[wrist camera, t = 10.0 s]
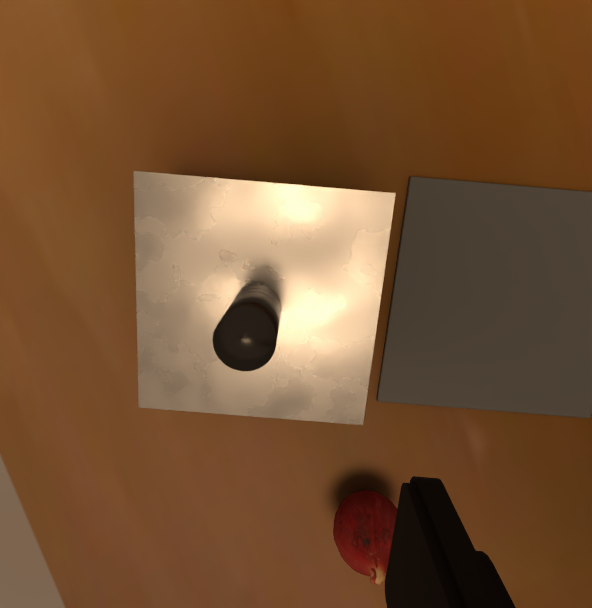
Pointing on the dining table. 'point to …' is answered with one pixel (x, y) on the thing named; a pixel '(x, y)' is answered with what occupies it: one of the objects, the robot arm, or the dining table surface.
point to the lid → (257, 296)
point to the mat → (492, 300)
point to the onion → (365, 532)
